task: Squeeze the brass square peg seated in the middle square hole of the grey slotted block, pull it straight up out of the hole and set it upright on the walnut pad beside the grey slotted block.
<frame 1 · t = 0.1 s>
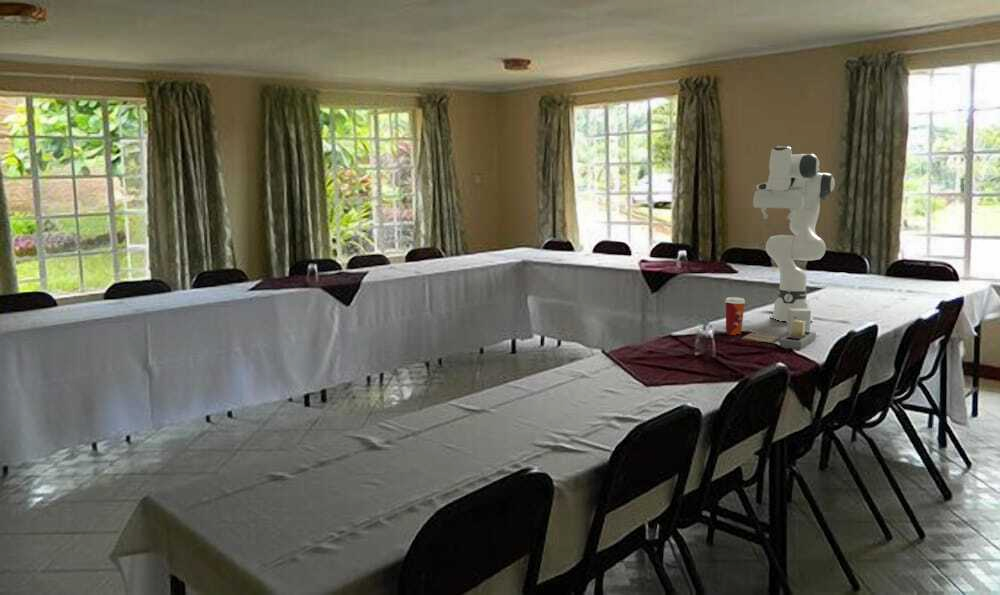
hand: (777, 219, 324), 48 cm above the table, tool pointing down, fingers open, 8 cm apart
coffee cup: (733, 334, 327), on the table
peg: (798, 332, 308), in the grey slotted block
grey slotted block: (797, 343, 309), on the table
small box: (797, 334, 327), on the table
pad: (760, 339, 315), on the table
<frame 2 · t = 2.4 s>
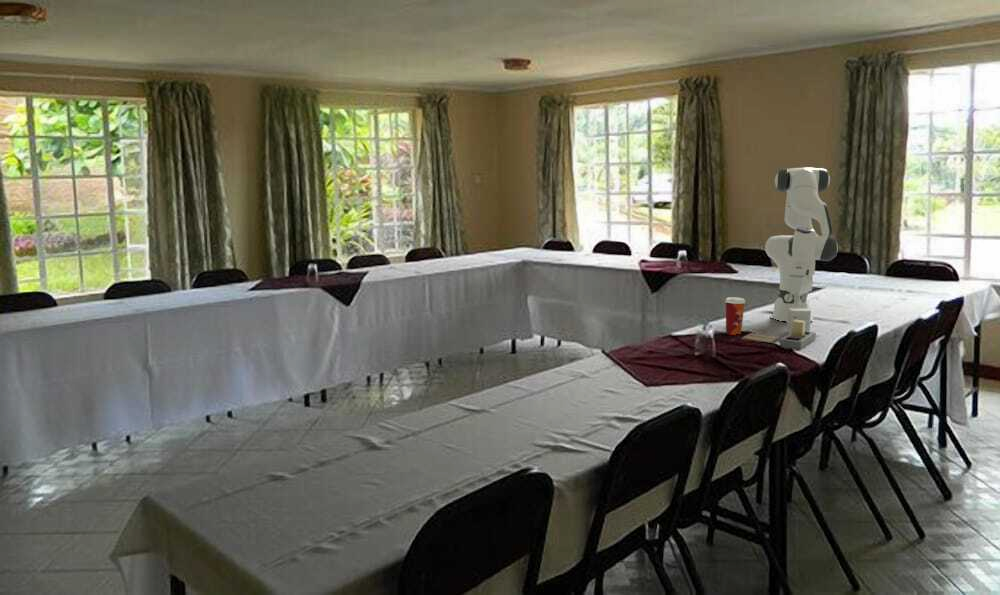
hand: (800, 304, 306), 16 cm above the table, tool pointing down, fingers open, 8 cm apart
nothing on the table moved.
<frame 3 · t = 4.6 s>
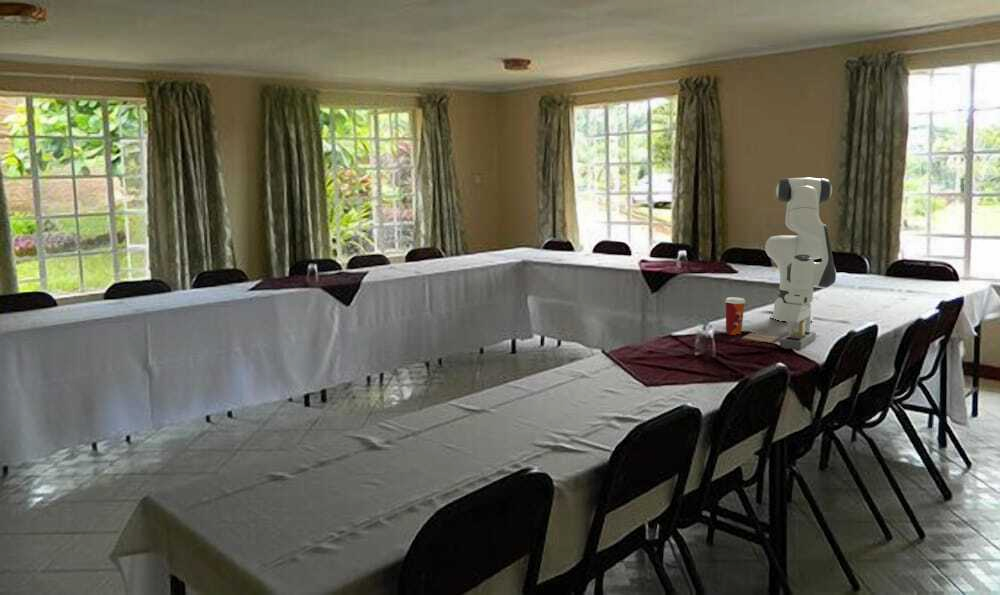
hand: (798, 330, 308), 5 cm above the table, tool pointing down, fingers closed on peg, 4 cm apart
peg: (798, 332, 308), in the grey slotted block, touching gripper
everything else where it was.
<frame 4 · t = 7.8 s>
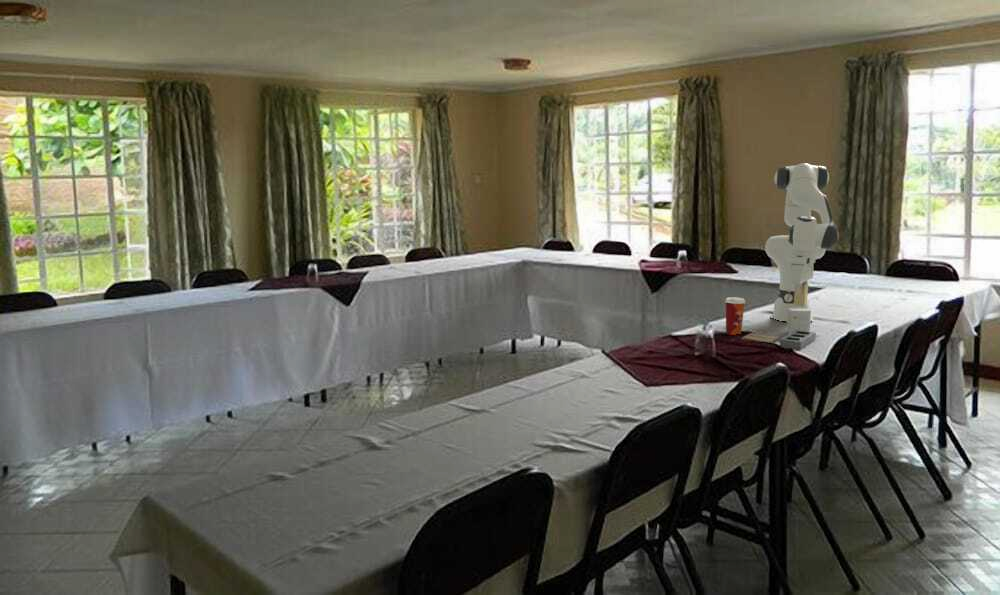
hand: (801, 292, 306), 20 cm above the table, tool pointing down, fingers closed on peg, 4 cm apart
peg: (801, 294, 306), point 20 cm above the table, touching gripper
everything else where it was.
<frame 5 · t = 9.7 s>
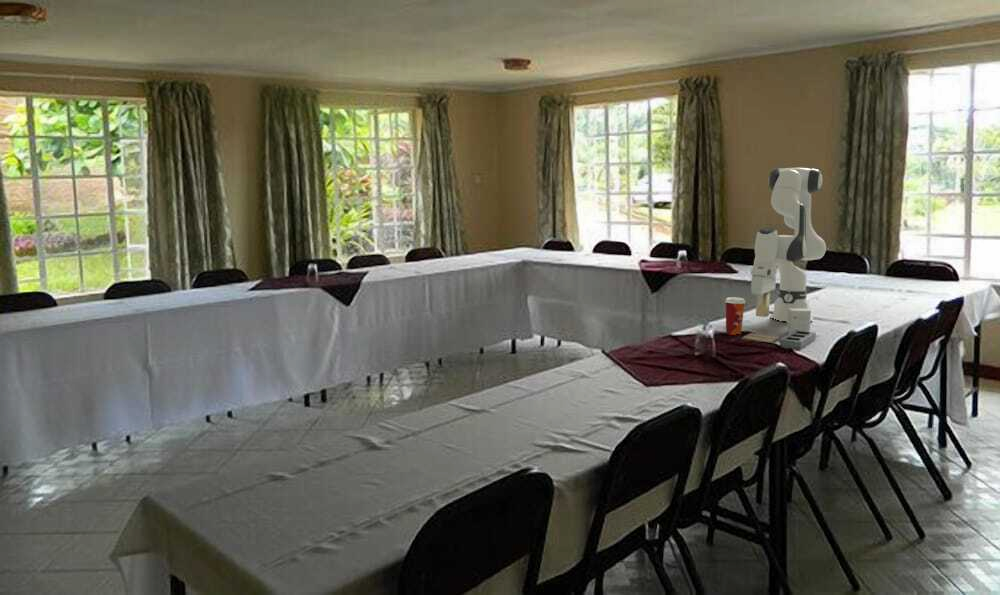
hand: (762, 303, 313), 15 cm above the table, tool pointing down, fingers closed on peg, 4 cm apart
peg: (762, 304, 313), point 14 cm above the table, touching gripper
everything else where it was.
when the fingers open (8 cm above the table, at t = 11.2 s): peg drops 1 cm, resting on pad.
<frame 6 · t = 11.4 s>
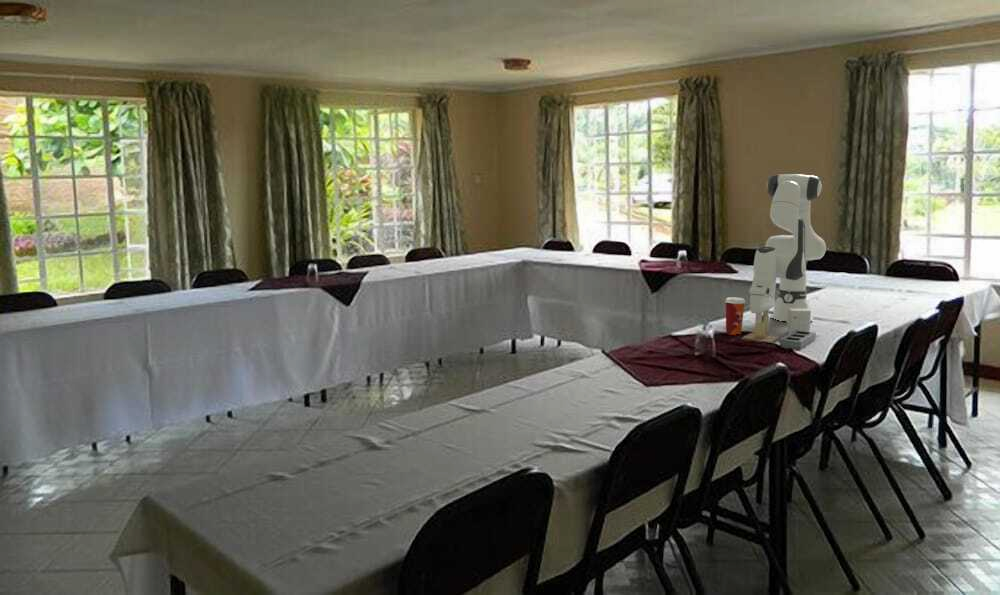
hand: (761, 321, 314), 8 cm above the table, tool pointing down, fingers open, 6 cm apart
peg: (761, 326, 314), on the pad, point 6 cm above the table
everything else where it was.
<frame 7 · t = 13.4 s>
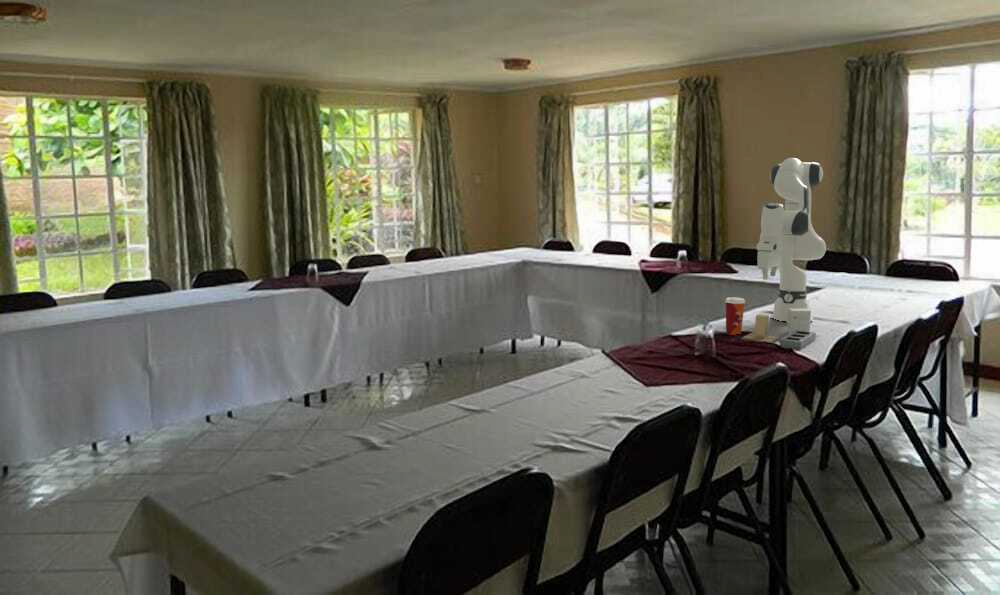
hand: (769, 277, 315), 25 cm above the table, tool pointing down, fingers open, 8 cm apart
nothing on the table moved.
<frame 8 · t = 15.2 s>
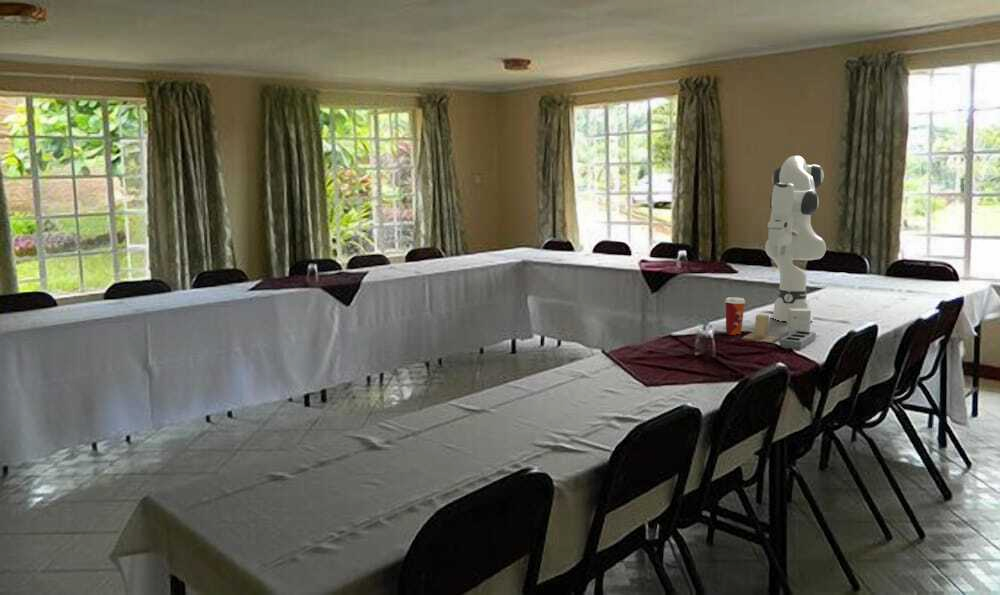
hand: (779, 256, 318), 33 cm above the table, tool pointing down, fingers open, 8 cm apart
nothing on the table moved.
at the end: peg inside the target area on the pad (0.1 cm from its centre), point 5.5 cm above the pad's base; peg tilted 0°; the gripper is holding nothing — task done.
